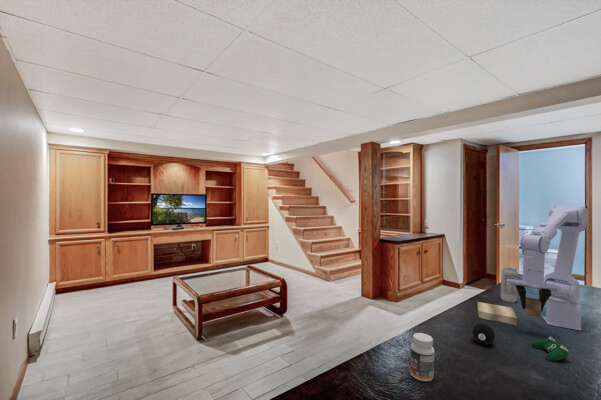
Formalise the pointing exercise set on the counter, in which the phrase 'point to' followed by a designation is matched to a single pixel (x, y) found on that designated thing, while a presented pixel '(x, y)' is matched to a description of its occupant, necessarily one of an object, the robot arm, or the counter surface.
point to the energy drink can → (507, 291)
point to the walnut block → (532, 307)
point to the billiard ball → (483, 333)
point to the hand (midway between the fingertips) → (531, 309)
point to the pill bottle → (422, 357)
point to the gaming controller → (551, 349)
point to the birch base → (496, 313)
